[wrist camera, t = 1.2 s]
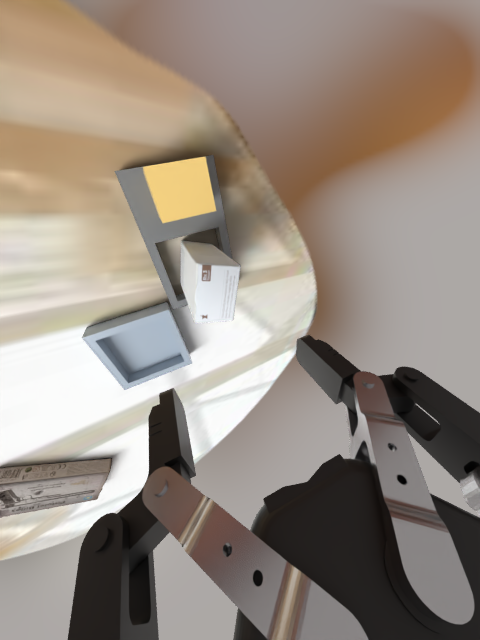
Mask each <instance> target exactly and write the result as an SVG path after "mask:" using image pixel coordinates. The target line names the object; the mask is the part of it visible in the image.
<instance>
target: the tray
mask: <svg viewBox="0 0 480 640" xmlns="http://www.w3.org/2000/svg"><path fill="white" fill-rule="evenodd" d="M82 338H83V340H84V341H85V342H86V343H87V345H88V346H89V347H90V348H91V349H92V351H93V352H94V353H95V354H96V355H97V357H98V358H99V359H100V360H101V362H102V363H103V364H104V365H105V366H106V368H107V369H108V370H109V371H110V373H111V374H112V375H113V376H114V377H115V379H116V380H117V381H118V382H119V384H120V385H121V386H122V387H123V388H124V390H126V389H128V388H131V387H133V386H136V385H139V384H141V383H144V382H146V381H149V380H151V379H154V378H156V377H159V376H161V375H164V374H166V373H169V372H171V371H174V370H176V369H179V368H181V367H184V366H186V365H189V364H191V363H192V361H191V357H190V354H189V351H188V349H187V347H186V344H185V342H184V340H183V337H182V335H181V333H180V331H179V328H178V326H177V324H176V321H175V319H174V317H173V314H172V312H171V310H170V307H169V305H168V303H167V302H165V303H162V304H159V305H156V306H153V307H149V308H146V309H143V310H140V311H137V312H134V313H131V314H128V315H124V316H121V317H118V318H115V319H112V320H109V321H106V322H102V323H99V324H96V325H93V326H90V327H87V328H86V330H85V332H84V335H83V337H82Z"/></svg>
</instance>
